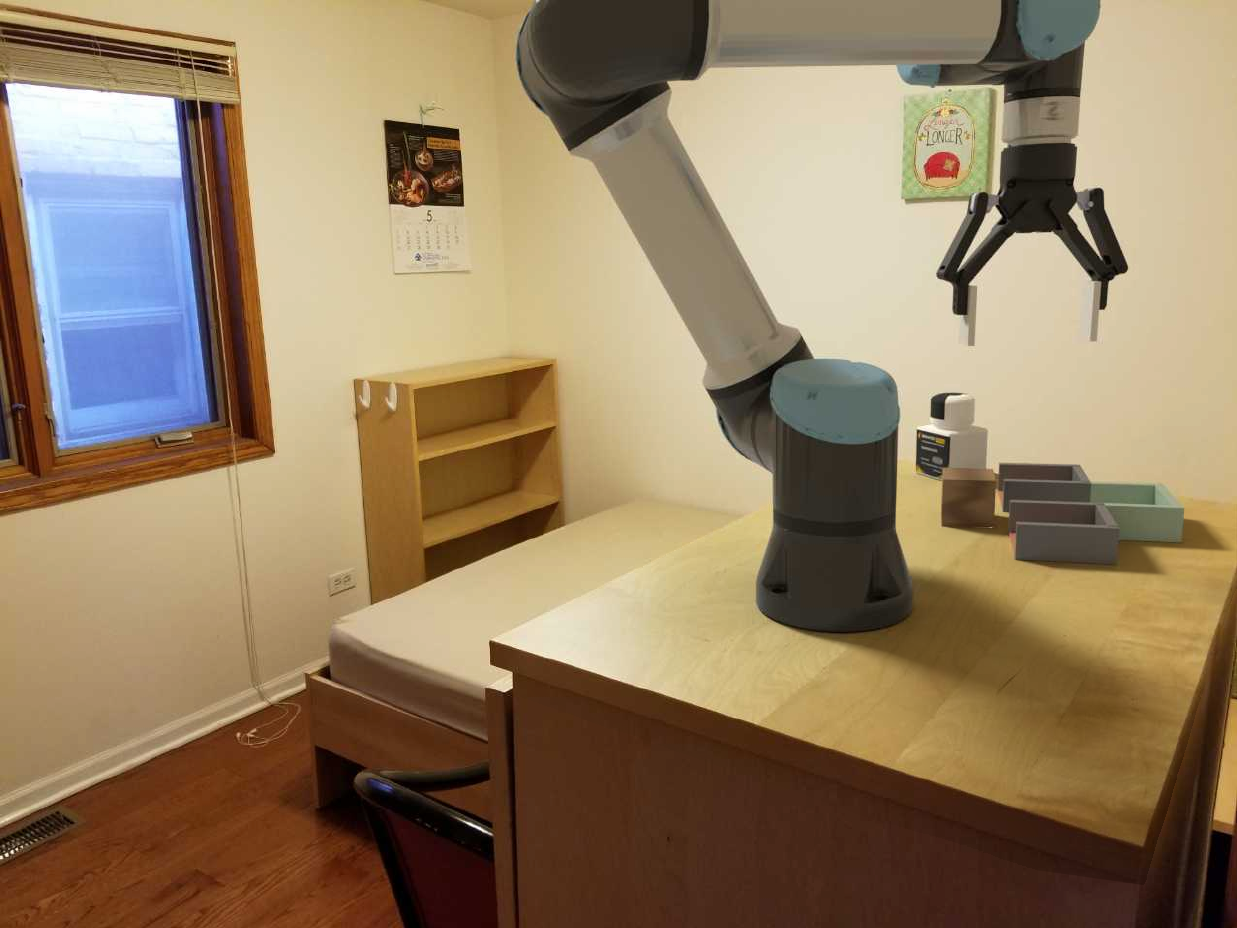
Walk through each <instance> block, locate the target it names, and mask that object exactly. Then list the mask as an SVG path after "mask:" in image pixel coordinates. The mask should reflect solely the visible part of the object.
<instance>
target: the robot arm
mask: <svg viewBox="0 0 1237 928" xmlns="http://www.w3.org/2000/svg"><path fill="white" fill-rule="evenodd" d="M1101 6H1102V5H1101V0H533V1H532V4H531V7H530V9H529V10H528V12H527V13H526V15H525V16H524V17H523V20H522V23H521V25H520V27H519V31H518V34H517V39H516V44H515V61H516V70H517V73H518V77H519V80H520V83H521V86H522V88H523V90H524V93H525V94H526V96H527V97H528V99H529V100H530V101H531V103H533V104H534V105H535V107H536V108H537V109H539V110H540V111H541V113H542V114H544V115H545V116H547V117H548V119H549V120H550V122H551V124H552V125H553V127H554V129H555V130H556V132H557V133H558V135H559V137H560V139H561V141H562V142H563V144H564V145H565V147H566V149H567V151H568V153H569V154H570V156H574V157H578V158H582V159H585V160H588V161H590V162H591V163H592V164H593V166H594V167H595V169H596V171H597V173H598V174H599V176H600V178H601V179H602V181H603V183H604V185H605V187H606V188H607V190H608V191H609V193H610V196H611V197H612V199H613V201H614V202H615V204H616V205H617V208H618V209H619V211H620V213H621V216H623V218H624V220H625V221H626V223H627V225H628V227H629V229H630V230H631V232H632V234H633V235H634V237H635V239H636V241H637V242H638V245H639V246H640V247H641V250H642V252H643V253H644V255H645V257H646V258H647V260H648V262H649V263H650V265H651V267H652V270H653V271H654V273H655V275H656V277H657V278H658V279H659V281H660V283H661V285H662V287H663V288H664V290H665V291H666V294H667V295H668V297H669V299H670V301H671V302H672V304H673V306H674V307H675V310H676V311H677V313H678V314H679V316H680V317H681V320H682V321H683V324H684V325H685V327H686V329H687V331H688V332H689V334H690V336H691V338H692V339H693V341H694V343H695V344H696V346H697V348H698V350H699V352H700V353H701V355H702V357H703V359H704V361H705V362H706V367H705V370H704V374H703V378H702V385H703V388H704V389H705V390H706V393H707V395H708V396H709V398H710V400H711V402H712V403H713V405H714V406H715V412H716V413H715V414H716V418H717V423H718V426H719V428H720V430H721V432H722V434H723V436H724V438H725V440H726V441H727V442H728V444H729V445H730V446H731V447H732V448H733V449H734V451H735V452H737V453H738V454H739V455H741V457H744V458H745V459H747V460H749V461H750V462H753V463H755V464H756V465H758V466H760V467H762V468H763V469H765V470H766V471H768V472H770V473H771V475H772V528H771V532H770V536H769V539H768V542H767V546H766V548H765V551H764V554H763V557H762V561H761V563H760V565H759V568H758V572H757V575H756V578H755V579H756V581H755V603H756V604H755V605H756V606H757V608H758V609H759V610H760V612H762V613H763V614H764V615H766V616H768V617H769V618H770V619H772V620H775V621H777V622H780V623H783V624H786V625H789V626H793V627H796V628H802V629H806V630H812V631H824V632H837V633H838V632H840V633H841V632H843V633H845V632H863V631H871V630H876V629H880V628H881V629H882V628H885V627H888V626H892V625H894V624H897V623H899V622H901V621H903V620H904V619H906V618H907V617H908V616H910V614H911V613H912V611H913V609H914V608H913V607H914V584H913V581H912V577H911V574H910V571H909V568H908V564H907V560H906V559H905V555H904V551H903V549H902V546H901V542H900V539H899V537H898V533H897V526H896V524H897V523H896V521H897V519H896V518H897V491H898V489H897V488H898V460H899V459H898V457H899V454H898V452H899V451H898V449H899V424H900V420H901V408H900V405H899V392H898V387H897V386H898V385H897V383H896V380H895V379H894V377H893V376H892V375H891V374H890V373H889V372H887V370H884V369H882V368H880V367H879V366H877V365H873V364H869V363H866V362H861V361H858V362H857V361H856V362H855V361H851V360H848V359H843V358H842V359H841V358H840V359H839V358H815V357H814V355H813V354H812V352H811V350H810V348H809V346H808V344H807V343H806V341H805V338H804V337H803V336H802V334H801V332H800V330H799V329H798V328H797V327H793V326H789V325H785V324H782V323H780V322H779V321H778V319H777V318H776V316H775V314H774V311H773V310H772V308H771V306H770V305H769V303H768V301H767V299H766V297H765V295H764V293H763V291H762V290H761V288H760V286H759V284H758V282H757V281H756V278H755V276H754V275H753V273H752V271H751V269H750V267H749V266H748V264H747V261H746V260H745V258H744V256H743V255H742V252H741V250H740V249H739V247H738V245H737V243H736V241H735V239H734V237H733V236H732V234H731V232H730V230H729V229H728V226H727V225H726V222H725V221H724V218H723V217H722V215H721V213H720V211H719V209H718V207H717V206H716V204H715V202H714V200H713V199H712V197H711V194H710V193H709V191H708V189H707V187H706V186H705V183H704V182H703V180H702V178H701V177H700V174H699V173H698V170H697V168H696V167H695V165H694V163H693V162H692V160H691V158H690V155H689V153H688V152H687V150H686V148H685V146H684V144H683V142H682V141H681V139H680V136H679V135H678V133H677V131H676V129H675V128H674V126H673V124H672V122H671V120H670V118H669V117H668V113H669V111H668V109H669V106H670V101H671V98H672V93H673V91H672V89H671V87H670V85H669V83H668V82H678V81H683V82H684V81H685V82H686V81H691V82H693V81H698V80H700V79H701V77H703V75H704V74H706V72H707V71H708V70H709V69H710V68H711V69H712V68H713V69H714V68H715V69H716V68H717V69H718V68H721V69H723V68H724V69H725V68H769V67H770V68H772V67H773V68H777V67H779V68H780V67H782V68H784V67H790V68H792V67H843V66H844V67H845V66H846V67H847V66H851V67H852V66H853V67H854V66H856V67H857V66H896V70H897V72H898V75H899V77H900V78H901V80H902V81H903V82H904V83H906V84H907V85H910V86H920V87H921V86H923V87H930V88H931V89H935V88H936V87H949V86H950V87H952V86H953V87H954V86H955V87H957V86H959V87H960V86H985V85H986V86H1003V108H1002V109H1003V113H1002V126H1001V141H1002V142H1003V144H1007V145H1006V147H1004V148H1002V151H1000V163H999V164H1000V165H999V166H1000V167H999V189H998V192H997V193H996V194H988V193H987V192H985V191H981V192H979V191H978V192H972V193H971V194H970V196H969V198H968V203H967V211H966V214H965V217H964V218H963V220H962V222H961V224H960V226H959V229H958V230H957V232H956V234H955V235H954V238H953V239H952V242H951V244H950V245H949V247H948V250H947V251H946V254H945V255H944V257H943V259H942V261H941V262H940V265H939V266H938V269H937V271H936V273H935V274H936V276H935V277H936V278H937V279H938V280H941V281H945V282H948V283H950V284H951V286H952V288H953V289H952V307H951V308H952V309H951V310H952V314H953V315H954V316H955V315H956V316H959V331H958V335H959V336H958V344H960V345H963V346H966V347H974V346H976V345H975V343H976V324H977V323H976V320H977V304H978V303H977V301H978V296H977V295H978V286H977V285H972V284H971V282H972V281H973V280H974V279H975V277H977V275H978V274H979V273H980V272H981V271H982V269H983V268H984V267H985V266H986V265H987V263H988V262H990V260H991V259H992V258H993V257H994V255H995V254H996V252H998V251H999V249H1000V248H1001V247H1002V246H1003V244H1005V242H1006V241H1007V240H1008V239H1009V238H1011V237H1012V236H1013V235H1014V234H1032V233H1037V234H1038V233H1039V234H1040V233H1053V234H1054V235H1056V236H1057V237H1059V239H1060V240H1061V242H1062V243H1063V245H1065V246H1066V248H1067V250H1068V251H1069V252H1070V253H1071V254H1072V256H1073V258H1075V259H1076V261H1077V262H1078V264H1079V266H1081V267H1082V269H1083V270H1084V271H1085V273H1087V275H1088V276H1089V277H1090V279H1091V280H1082V281H1081V282H1082V284H1081V293H1080V294H1081V295H1080V296H1081V297H1080V309H1079V310H1080V311H1079V321H1078V325H1079V327H1078V337H1077V338H1078V340H1081V341H1085V342H1098V341H1097V340H1098V329H1099V328H1098V327H1099V316H1100V311H1104V310H1105V309H1106V307H1107V306H1108V293H1109V282H1111V281H1113V280H1115V277H1116V276H1119V275H1124V274H1126V273H1127V272H1128V271H1129V265H1128V263H1127V260H1126V258H1125V256H1124V253H1123V250H1122V248H1121V245H1120V243H1119V241H1118V239H1117V236H1116V233H1115V231H1114V229H1113V226H1112V224H1111V221H1110V218H1109V217H1108V214H1107V211H1106V209H1105V193H1104V192H1105V191H1104V190H1103V188H1102V187H1093V188H1092V187H1091V188H1086V189H1084V190H1081V191H1076V189H1075V185H1074V184H1075V183H1074V182H1075V178H1076V171H1077V155H1078V146H1076V144H1075V143H1072V140H1073V139H1076V138H1077V136H1078V135H1079V125H1080V108H1081V92H1082V91H1081V90H1082V79H1083V68H1084V67H1083V66H1084V56H1085V43H1086V41H1087V40H1088V38H1089V37H1091V35H1092V33H1093V32H1094V30H1095V29H1096V26H1097V23H1098V21H1099V19H1100V18H1099V17H1100V14H1101V11H1100V10H1101ZM1076 204H1077V207H1078V208H1079V210H1080V211H1082V213H1083V217H1084V219H1085V222H1086V224H1087V227H1088V230H1089V232H1090V235H1091V236H1092V239H1093V241H1094V244H1095V246H1096V248H1097V251H1098V253H1099V254H1098V253H1097V252H1096V250H1095V249H1094V248H1093V247H1092V245H1091V244H1090V243H1089V241H1088V240H1087V239H1086V238H1085V236H1084V235H1083V234H1082V232H1081V230H1079V228H1078V224H1077V223H1076V221H1075V220H1074V218H1072V216H1071V215H1070V214H1069V213H1070V212H1071V211H1072V209H1073V208H1074V206H1075V205H1076ZM994 207H995V208H996V210H997V211H998V213H999V214H1000V215H1001V217H1000V218H999V220H998V221H996V223H995V224H994V225H993V226H992V227H991V229H990V231H989V233H988V234H987V236H986V237H984V239H983V240H982V241H981V243H980V244H979V245H978V246H977V247H976V249H975V250H974V251H973V252H972V253H971V255H970V256H969V257H968V258H967V259H966V261H964V259H965V257H966V255H967V253H968V251H969V250H970V247H971V245H972V243H973V241H974V240H975V238H976V236H977V234H978V232H979V230H980V228H981V226H982V224H983V222H984V220H985V219H986V216H987V215H988V214H989V213H990V212H992V209H993V208H994ZM963 261H964V263H963V264H962V262H963ZM961 264H962V265H961ZM970 284H971V285H970Z"/></svg>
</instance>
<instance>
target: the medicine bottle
mask: <svg viewBox="0 0 1237 928" xmlns="http://www.w3.org/2000/svg"><path fill="white" fill-rule="evenodd" d="M975 404H976V399H975V397H974V396H972V395H970V394H968V393H963V392H942V393H937V394H935V395H933V396H932V397H931V399H930V411H929V412H930V416H929V420H930V421H929V422H930V423H931V424H926V425H919V426H917V427H916V440H915V441H916V444H915V473H916V474H918V475H921V476H925V477H927V478H931V479H935V480H938V481H941V482H942V468H975V469H987V457H988V454H987V453H988V433H989V432H988V431H989V430H988V428H986V427H981V426H975V425H972V424H974V423H975V408H976V407H975V406H976V405H975Z"/></svg>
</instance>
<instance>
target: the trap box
mask: <svg viewBox="0 0 1237 928" xmlns="http://www.w3.org/2000/svg"><path fill="white" fill-rule="evenodd" d="M1088 477H1089V476H1088V475H1087V474H1086V473H1085V471H1084V469H1083V468H1082V465H1081V464H1068V463H1030V462H1029V463H1028V462H1027V463H1025V462H998V479H997V493H998V496H999V501H1000V505H1001V509H1003V510H1002V512H1008V511H1009V512H1008V528H1007V529H1008V536H1009V540H1010V541H1009V542H1010V544H1011V548H1012V552H1013V556H1014V560H1021V561H1041V562H1055V563H1056V562H1058V563H1059V562H1060V563H1079V564H1094V565H1117V564H1118V553H1119V551H1118V550H1119V541H1140V542H1141V541H1142V542H1160V543H1182V541H1183V540H1182V538H1183V528H1184V527H1183V526H1184V516H1185V507H1184V506H1183V504H1182V503H1181V502H1180V501H1179V500H1178V499H1177V498H1176V497H1175V496H1174V495H1173V494H1172V492H1171V491H1170V490H1169V489H1168V488H1167V487H1166V485H1164V483H1163V482H1162V483H1159V482H1157V483H1156V482H1155V483H1154V482H1129V481H1127V482H1126V481H1125V482H1123V481H1120V482H1119V481H1118V482H1117V481H1090V479H1089V478H1088Z"/></svg>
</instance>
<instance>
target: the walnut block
mask: <svg viewBox="0 0 1237 928" xmlns="http://www.w3.org/2000/svg"><path fill="white" fill-rule="evenodd" d="M996 487H997V479H996V475H995V472H994V469H993V468H986V469H975V468H942V481H941V499H940V500H941V504H940V506H941V507H940V517H941V518H940V522H941V524H940V525H941V527H951V528H952V527H953V528H973V527H987V528H986V529H989V528H988V527H994V528H995V514H996V513H995V512H996V494H997V493H996V489H997V488H996Z"/></svg>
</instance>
